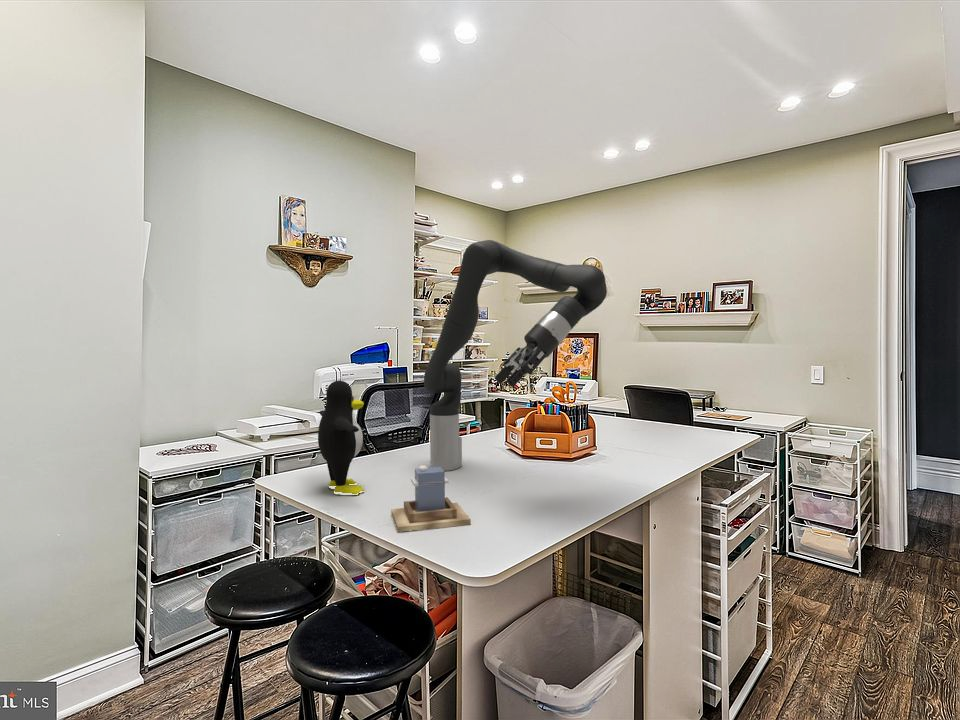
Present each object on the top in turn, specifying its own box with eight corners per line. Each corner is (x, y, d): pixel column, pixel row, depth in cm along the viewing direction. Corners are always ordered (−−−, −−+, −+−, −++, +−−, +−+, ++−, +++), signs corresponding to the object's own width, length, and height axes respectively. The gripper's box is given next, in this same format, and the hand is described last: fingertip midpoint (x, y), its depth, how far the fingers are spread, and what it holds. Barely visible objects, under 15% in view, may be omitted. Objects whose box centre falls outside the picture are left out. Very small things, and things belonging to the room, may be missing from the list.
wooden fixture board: (457, 507, 124) (457, 494, 124) (470, 524, 113) (470, 510, 113) (391, 514, 120) (391, 500, 120) (397, 532, 108) (397, 517, 108)
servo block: (444, 508, 120) (444, 462, 119) (448, 515, 116) (448, 466, 115) (411, 512, 118) (410, 464, 117) (414, 518, 113) (414, 469, 113)
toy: (387, 504, 127) (385, 384, 126) (336, 513, 121) (334, 387, 119) (347, 471, 159) (345, 375, 157) (306, 477, 153) (303, 377, 151)
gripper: (526, 323, 129) (483, 370, 126) (549, 321, 115) (502, 373, 112) (546, 344, 130) (503, 390, 128) (571, 345, 117) (524, 397, 114)
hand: (503, 382), depth 120 cm, fingers open, 8 cm apart
